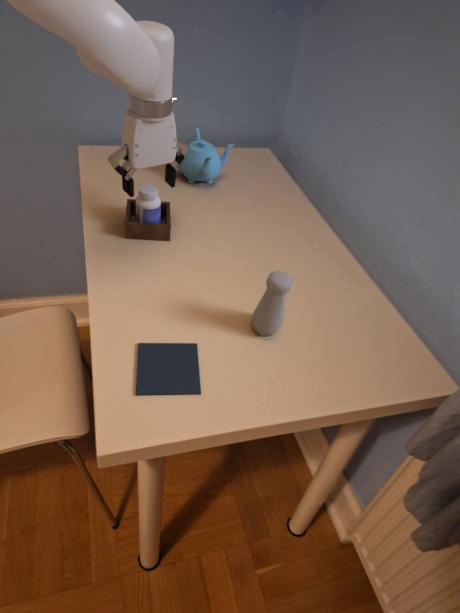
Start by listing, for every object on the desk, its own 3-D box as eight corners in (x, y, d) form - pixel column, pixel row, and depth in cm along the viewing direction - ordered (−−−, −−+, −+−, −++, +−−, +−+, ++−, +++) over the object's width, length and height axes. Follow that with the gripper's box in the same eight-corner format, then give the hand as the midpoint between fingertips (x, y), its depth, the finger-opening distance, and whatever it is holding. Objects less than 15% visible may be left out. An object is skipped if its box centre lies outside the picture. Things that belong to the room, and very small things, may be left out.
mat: (135, 395, 62) (135, 394, 62) (138, 344, 69) (138, 342, 68) (200, 394, 64) (201, 393, 64) (196, 344, 71) (197, 343, 70)
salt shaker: (272, 315, 79) (290, 264, 70) (284, 337, 75) (304, 286, 66) (245, 319, 77) (259, 267, 68) (255, 342, 73) (272, 290, 64)
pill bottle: (164, 225, 93) (166, 188, 87) (151, 237, 90) (152, 198, 83) (144, 217, 95) (144, 179, 88) (131, 228, 91) (130, 189, 84)
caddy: (125, 238, 88) (124, 223, 85) (127, 213, 94) (127, 198, 92) (169, 241, 90) (170, 226, 87) (169, 216, 96) (170, 201, 94)
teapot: (230, 178, 114) (236, 143, 107) (203, 195, 105) (208, 158, 98) (193, 161, 118) (197, 126, 111) (164, 176, 109) (166, 139, 102)
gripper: (180, 92, 80) (175, 173, 92) (96, 101, 71) (103, 188, 83) (201, 108, 76) (193, 189, 88) (115, 118, 67) (120, 207, 79)
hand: (149, 188), depth 86 cm, fingers open, 9 cm apart
